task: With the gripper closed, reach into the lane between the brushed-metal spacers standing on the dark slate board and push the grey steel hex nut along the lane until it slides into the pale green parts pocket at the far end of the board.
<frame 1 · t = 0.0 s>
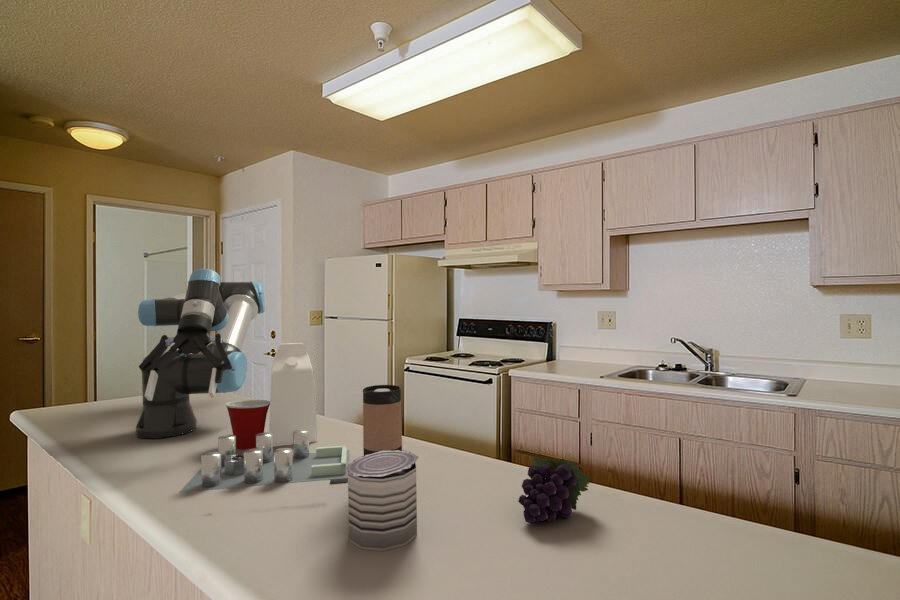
hand: (180, 396, 112), 15 cm above the counter, tool tilted 35°, fingers open, 13 cm apart
milk: (293, 441, 127), on the counter, touching plastic cup
fruit: (551, 516, 83), on the counter
plastic cup: (249, 449, 121), on the counter, touching milk
spacers: (259, 473, 104), resting on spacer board
travel mug: (383, 489, 95), on the counter
nut: (237, 471, 103), point 1 cm above the counter, touching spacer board
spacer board: (274, 472, 104), on the counter
parts pocket: (330, 467, 107), resting on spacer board
can: (383, 534, 77), on the counter
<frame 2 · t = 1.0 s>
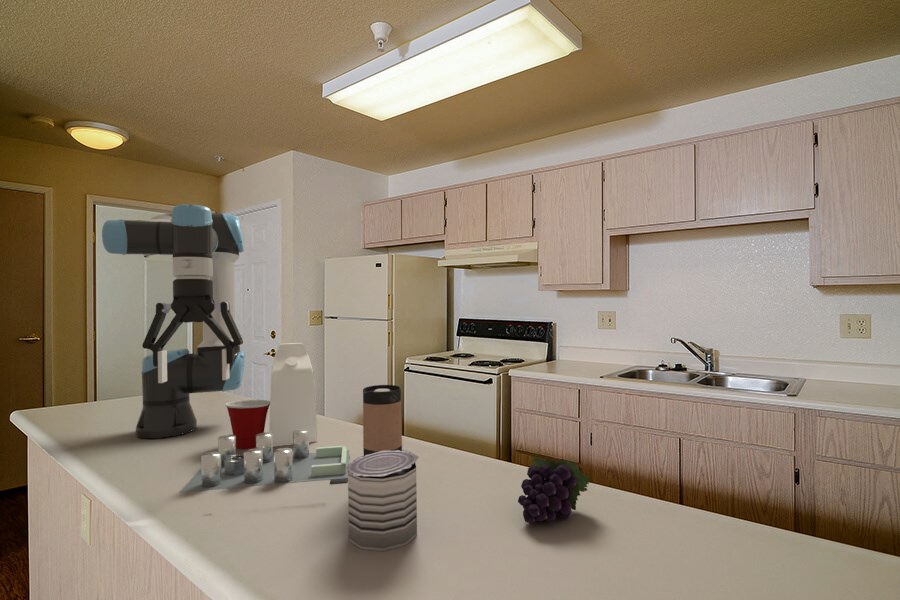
hand: (194, 380, 101), 21 cm above the counter, tool pointing down, fingers open, 12 cm apart
nothing on the counter moved.
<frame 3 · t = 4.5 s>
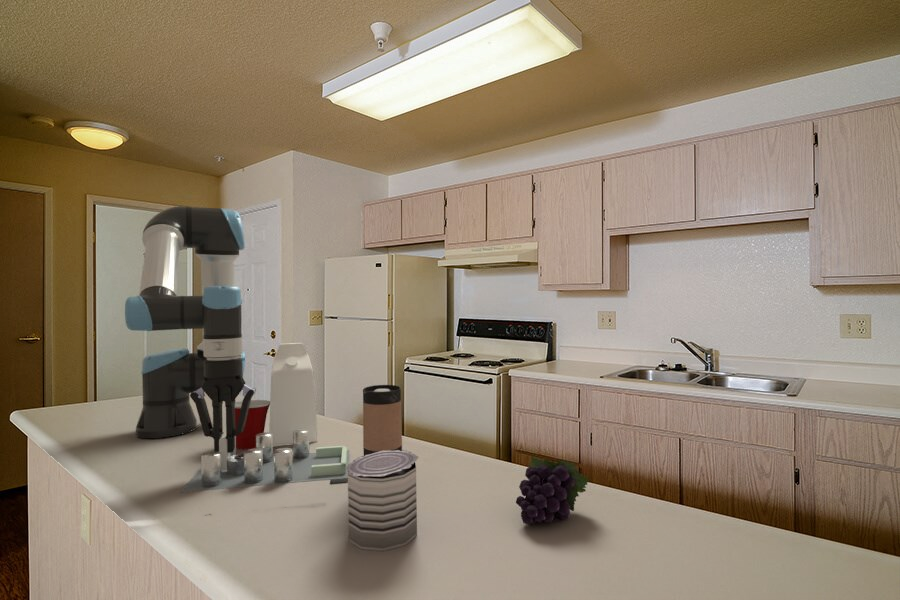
hand: (225, 467, 102), 2 cm above the counter, tool pointing down, fingers closed
nut: (240, 471, 103), point 1 cm above the counter, touching gripper
everything else where it was.
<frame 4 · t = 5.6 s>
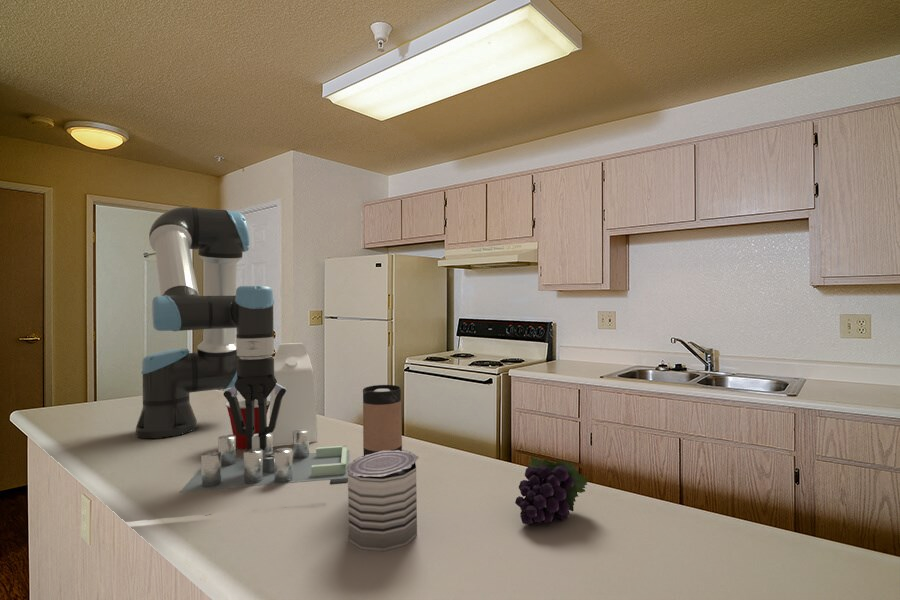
hand: (257, 465, 103), 2 cm above the counter, tool pointing down, fingers closed
nut: (271, 468, 104), point 1 cm above the counter, touching gripper
everything else where it was.
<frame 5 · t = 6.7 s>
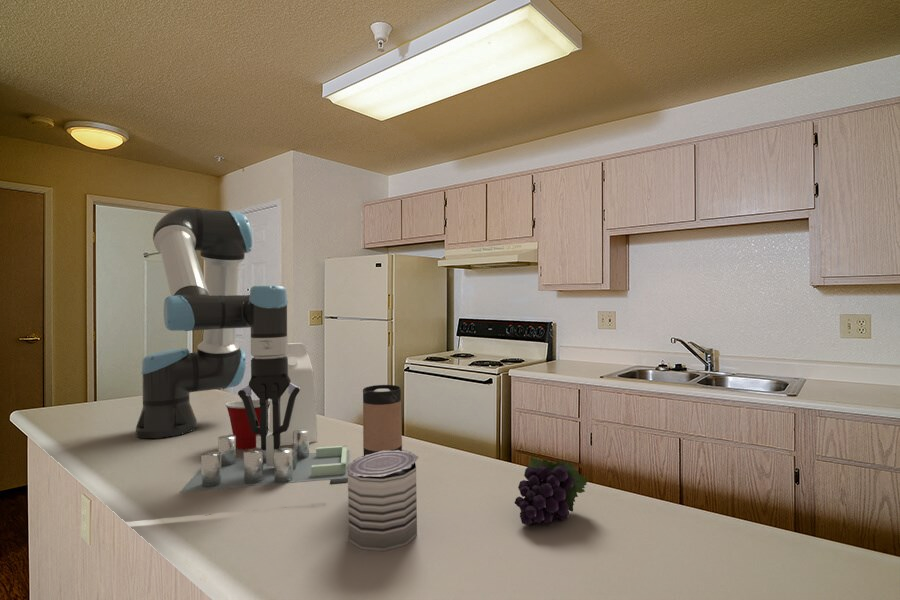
hand: (271, 464, 104), 2 cm above the counter, tool pointing down, fingers closed
nut: (285, 467, 105), point 1 cm above the counter
everything else where it was.
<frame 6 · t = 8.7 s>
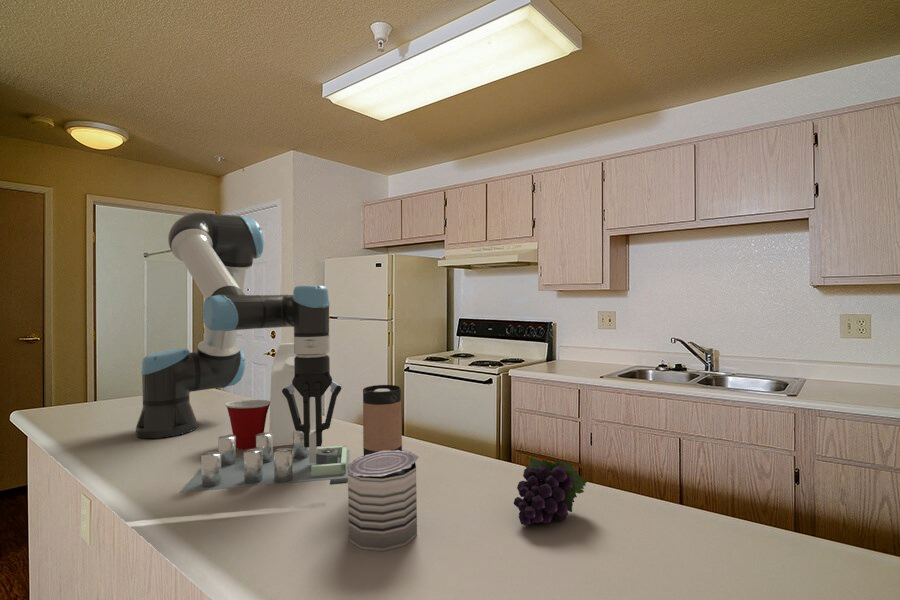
hand: (313, 461, 106), 2 cm above the counter, tool pointing down, fingers closed
nut: (327, 464, 106), point 1 cm above the counter, touching gripper, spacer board
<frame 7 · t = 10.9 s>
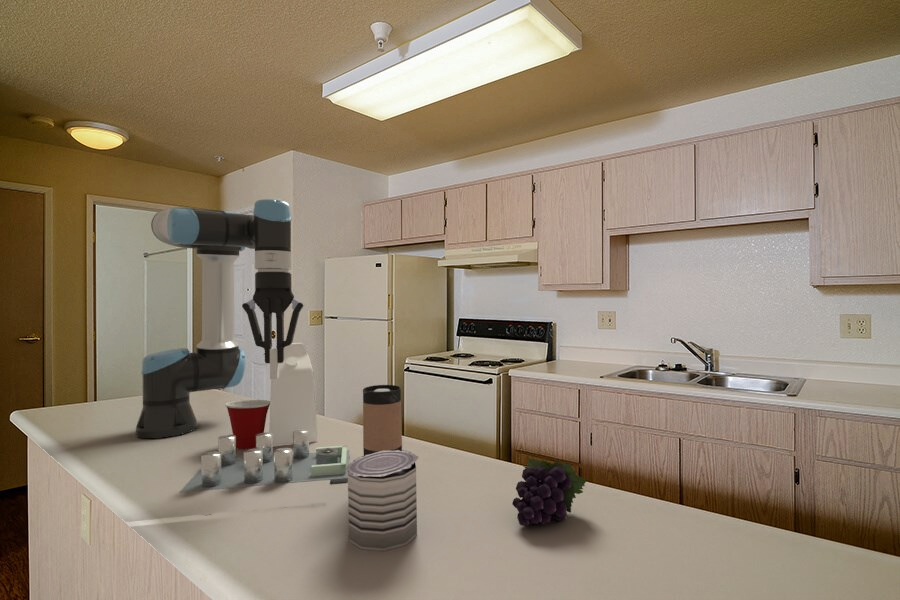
hand: (274, 377, 105), 21 cm above the counter, tool pointing down, fingers closed
nut: (327, 464, 106), point 1 cm above the counter, touching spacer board
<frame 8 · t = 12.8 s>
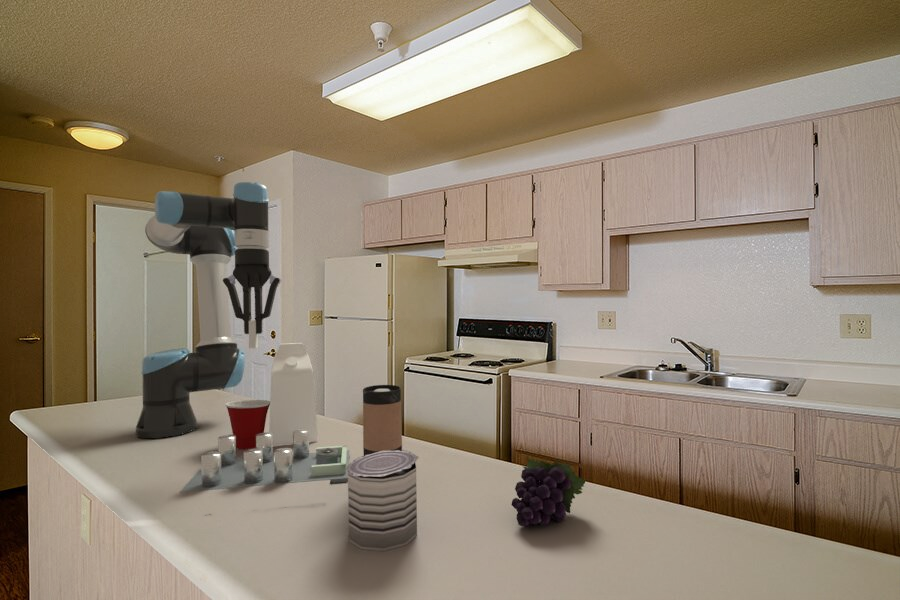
hand: (253, 347, 114), 26 cm above the counter, tool pointing down, fingers closed
at the end: nut inside the target area (1.2 cm from its centre), point 0.8 cm above the counter; nut tilted 0° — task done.
